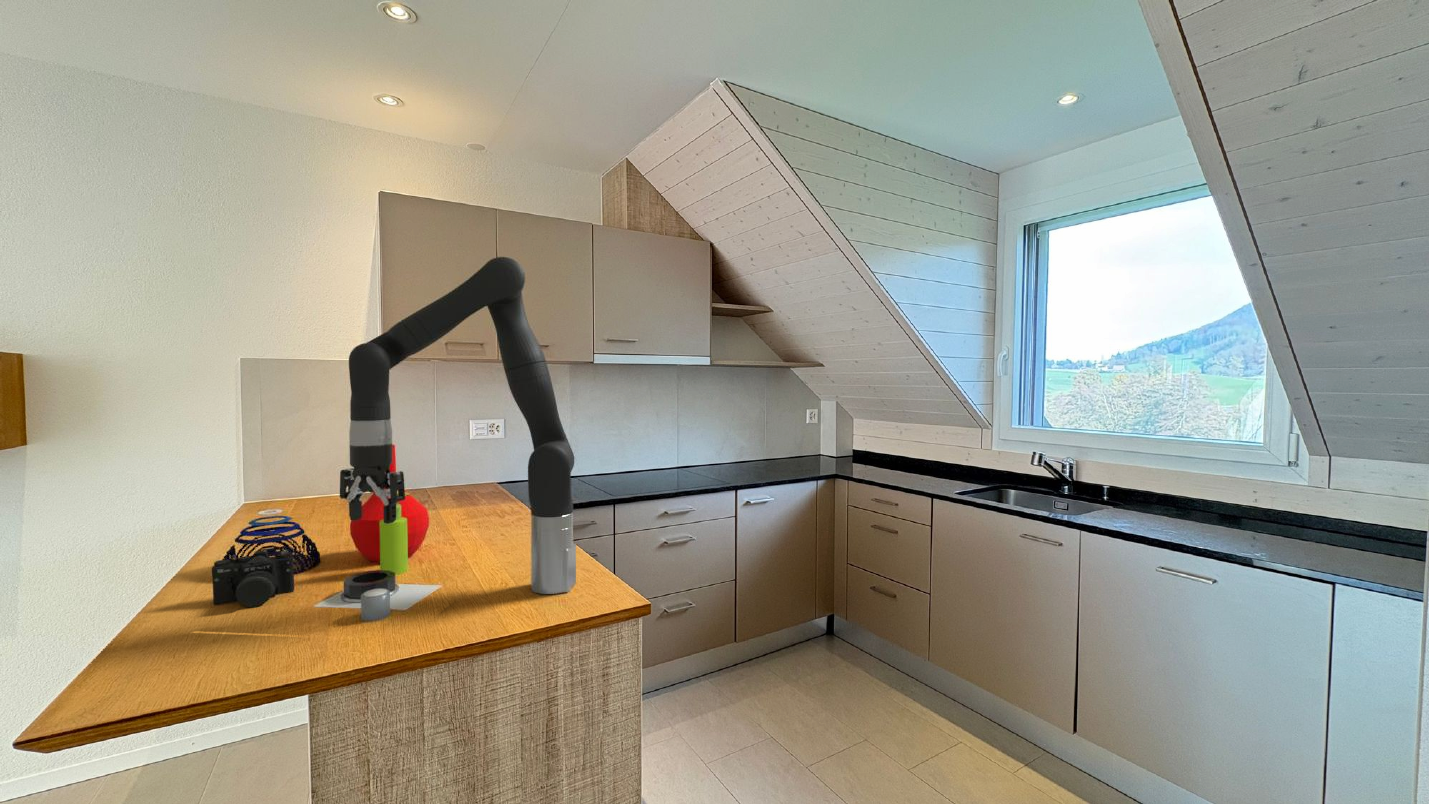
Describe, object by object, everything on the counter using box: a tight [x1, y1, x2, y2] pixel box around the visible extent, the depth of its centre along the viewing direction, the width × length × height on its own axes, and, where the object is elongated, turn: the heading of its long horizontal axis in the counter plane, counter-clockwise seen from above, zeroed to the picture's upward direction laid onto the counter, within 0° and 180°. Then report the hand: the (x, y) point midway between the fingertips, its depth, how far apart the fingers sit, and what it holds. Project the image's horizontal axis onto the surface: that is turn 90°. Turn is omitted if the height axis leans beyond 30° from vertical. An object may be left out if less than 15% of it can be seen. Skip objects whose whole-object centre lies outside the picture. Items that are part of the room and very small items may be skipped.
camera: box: [211, 550, 295, 608], centre depth 124 cm, size 14×11×10 cm
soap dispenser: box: [379, 491, 411, 576], centre depth 142 cm, size 6×7×20 cm
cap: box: [360, 589, 391, 623], centre depth 116 cm, size 5×5×5 cm
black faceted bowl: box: [341, 570, 399, 603], centre depth 128 cm, size 11×11×4 cm
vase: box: [349, 444, 430, 563], centre depth 155 cm, size 18×18×30 cm
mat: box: [312, 583, 443, 611], centre depth 127 cm, size 20×14×1 cm
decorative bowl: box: [221, 509, 321, 576], centre depth 145 cm, size 20×20×14 cm
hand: (372, 521), depth 119 cm, fingers open, 8 cm apart
